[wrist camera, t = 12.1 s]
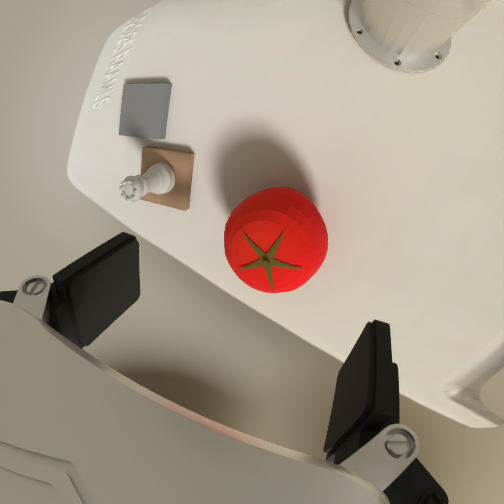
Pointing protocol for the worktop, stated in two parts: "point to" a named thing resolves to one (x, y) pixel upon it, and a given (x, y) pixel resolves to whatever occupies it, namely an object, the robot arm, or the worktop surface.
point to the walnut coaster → (182, 172)
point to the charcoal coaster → (145, 110)
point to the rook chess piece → (149, 182)
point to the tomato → (275, 240)
